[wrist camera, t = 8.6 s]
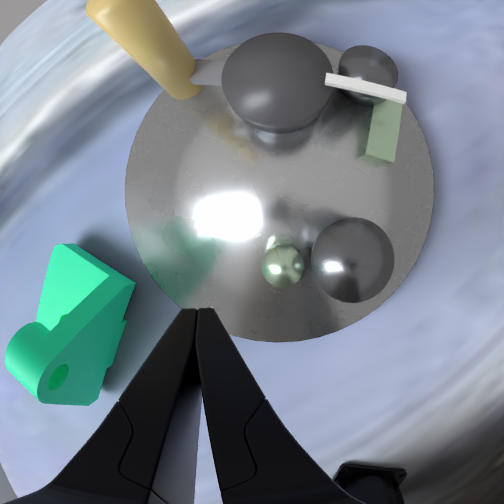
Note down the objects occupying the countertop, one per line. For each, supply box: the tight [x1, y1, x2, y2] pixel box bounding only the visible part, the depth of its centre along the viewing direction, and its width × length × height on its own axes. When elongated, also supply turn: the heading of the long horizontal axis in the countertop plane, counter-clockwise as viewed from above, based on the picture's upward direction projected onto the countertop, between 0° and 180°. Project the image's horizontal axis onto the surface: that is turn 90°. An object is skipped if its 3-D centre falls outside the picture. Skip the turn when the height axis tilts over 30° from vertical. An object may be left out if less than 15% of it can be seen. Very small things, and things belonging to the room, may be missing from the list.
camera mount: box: [5, 244, 136, 406], centre depth 20 cm, size 12×8×10 cm, turn 155°
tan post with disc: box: [86, 0, 407, 131], centre depth 14 cm, size 16×7×11 cm, turn 79°
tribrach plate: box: [125, 42, 434, 342], centre depth 20 cm, size 22×22×3 cm
